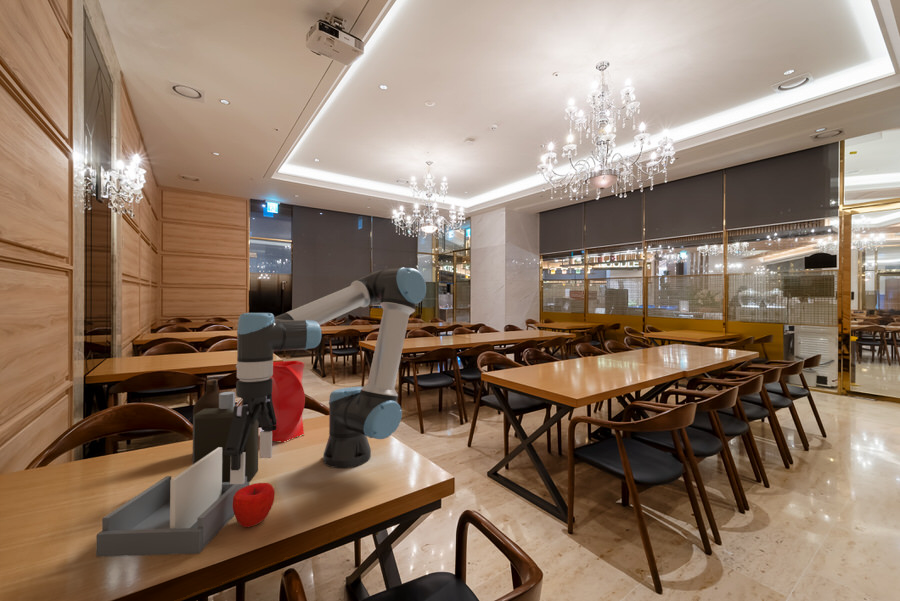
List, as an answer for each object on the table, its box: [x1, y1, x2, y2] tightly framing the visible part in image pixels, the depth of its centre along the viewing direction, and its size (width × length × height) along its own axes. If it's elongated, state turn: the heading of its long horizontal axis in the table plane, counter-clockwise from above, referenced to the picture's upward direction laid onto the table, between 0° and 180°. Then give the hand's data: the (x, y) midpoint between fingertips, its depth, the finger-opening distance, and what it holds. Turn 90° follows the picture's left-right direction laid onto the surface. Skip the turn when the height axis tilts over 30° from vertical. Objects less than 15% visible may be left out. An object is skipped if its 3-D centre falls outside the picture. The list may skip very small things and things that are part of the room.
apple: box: [233, 482, 276, 528], centre depth 86 cm, size 9×9×8 cm
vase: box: [270, 360, 306, 443], centre depth 142 cm, size 15×14×28 cm
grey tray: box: [95, 475, 250, 557], centre depth 85 cm, size 20×21×7 cm
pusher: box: [170, 447, 222, 529], centre depth 85 cm, size 6×17×13 cm, turn 3°
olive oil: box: [192, 378, 221, 417], centre depth 125 cm, size 11×11×25 cm
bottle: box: [191, 391, 260, 483], centre depth 107 cm, size 8×16×25 cm, turn 100°
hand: (252, 469), depth 86 cm, fingers open, 13 cm apart
